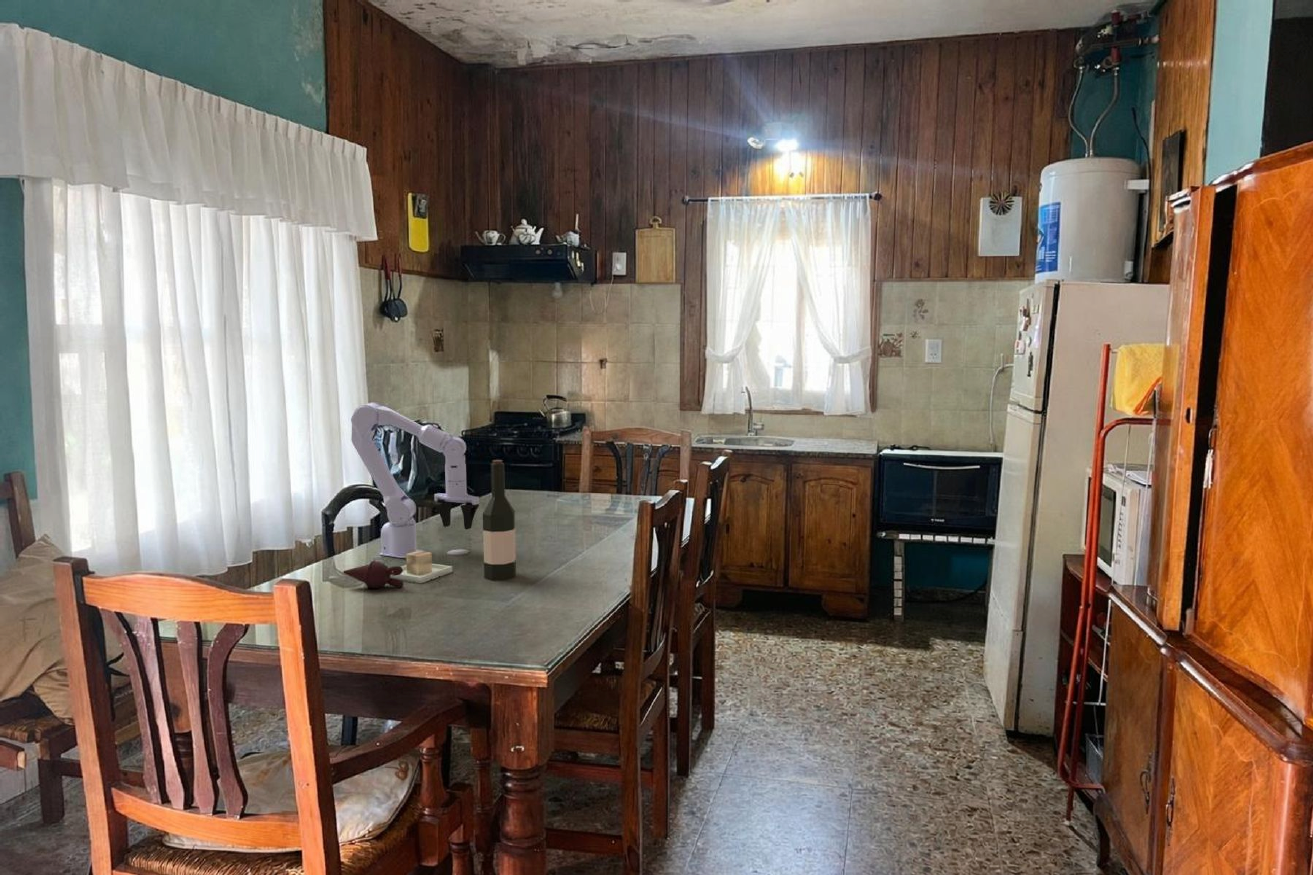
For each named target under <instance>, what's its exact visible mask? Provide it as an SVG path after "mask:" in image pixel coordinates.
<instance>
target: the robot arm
mask: <svg viewBox="0 0 1313 875" xmlns="http://www.w3.org/2000/svg"><path fill="white" fill-rule="evenodd" d="M350 421H351V439H350V440H351V443H352V445H353V447H354V448H355V450H356V452H357V453H358V454H357V455H359V457H360V459H361V461H362V462H363V464H364V466H365V467H366V470H367V472H368V473H369V474H370V476H371V479H372V480H373V481H374V483H375V485H376V487H377V488H378V490H379V492H380V494H381V495H382V498H383V505H384V506H385V508H386V513H387V519H388V522H386V523H384V525H383V526H382V528H381V530H380V544H381V546H380V548H381V550H380V551H381V552H379V555H380V556H385V557H392V558H400V559H406V554H408V553H412V552H416V551H423V550H421V549H418V548H417V524H416V523H417V521H416V520H415V518H414V515H415V514H416V512H417V506H416V503H415V501H414V500H413V499H411V498H410V497H409V496H407V494H406V492H405V491H404V490H403V489H402V488H400V486H399V484H398V482H397V481H396V479H395V477H394V475H393V474H392V472H391V470H390V469H389V466H388V465H387V463H386V461H385V459H384V458H383V456H382V454H381V453H380V450H379V449H378V447H377V446H376V444H375V442H374V440H373V437H374V435H375V431H376V429H377V428H378V426H388V425H391V426H393V427H395V428H397V429H400V430H402V431H404V432H407V433H409V434H411V435H414V436H416V437H417V439H418V441H419V443H420V444H422V445H424V446H425V447H428V448H430V449H432V450H434V451H436V452H438V453H442V454H443V456H444V457H445V465H444V472H445V473H444V475H445V493H440V492H437V493H434V495H433V497H434V500H433V501H434V502H435V503H434V507H435V509H436V510H437V512H438V513H439V515H440V518H441V522H442V525H443V527H444V528H447V527H450V526H451V517H452V516H451V515H452V514H451V512H452V507H453V506H452V505H453V503H459V504H462V505H460V508H461V513H462V516H463V526H464V530H470V529H471V528H472V526H473V521H474V517H475V515H476V513H477V510H478V508H479V506H480V496H475V495H471V494H468V491H467V464H466V454H465V453H466V451H467V444H466V442H465V441H464V439H463V438H462V437H460V436H454V434H453V433H447V432H445V431H443V430H441V429H440V428H439V425H436V424H433V425H432V424H426V425H421V424H419V423H418V422H415V421H414V420H412V419H410V418H408V417H406V416H405V415H403V414H401V413H399V412H397V411H395V410H394V409H391V408H389V407H387V406H383V405H380V404H379V403H377V402H368V403H366V404H361V405H359V406H357V407H356V408H355V410H354V412H353V414H352V416H351V418H350Z"/></svg>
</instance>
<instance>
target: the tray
mask: <svg viewBox="0 0 1313 875" xmlns="http://www.w3.org/2000/svg"><path fill="white" fill-rule="evenodd" d="M400 567H402V569H403V572H402V573H401V574H400V575H395V576H393V575H390V578H395V579H399V580H402V582H403V581H404V582H408V583H409V582H410V583H414V582H415V584H423V583H425V582H428V581H431V579H432V580H433V579H436V578H439V576H440V577H442V576H445V575H448V574H450V573H453V566H452V565H445V564H437V563H432V572H429V573H426V574H422V575H419V576H418V575H414V574H409V573H407V564H405V565H402V566H400Z"/></svg>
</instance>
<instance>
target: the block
mask: <svg viewBox="0 0 1313 875" xmlns="http://www.w3.org/2000/svg"><path fill="white" fill-rule="evenodd" d="M432 554H433V553H432V552H429V551H424V550H422V551H416V552H412V553H408V554H406V558H405V559H406V563H405V564H406V565H407V573H409V574H414V575H418V576H419V575H422V574H426V573H429V572H432V564H433V557H432Z"/></svg>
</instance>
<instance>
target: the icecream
mask: <svg viewBox="0 0 1313 875" xmlns="http://www.w3.org/2000/svg"><path fill="white" fill-rule="evenodd" d="M402 572H403V569H402V567H401V566H399V565H398V566H397V565H396V566H394V565H393V566H390V567H389V566H387V565H386V564H385V563H382V562H379V561H376V560H375V559H374V560H372V561H370V563H369V564H365V565H361V566H356V567H353V568H349V569H346V570H343V571H342V573H343V574H345V575H347V576H349V577H351V578H353V579H355V580H358V581H360V582H361V583H364V584H365V585H366V589H367V590H370V589H372V588H373V589H379V588H383V587H384V586H385V585H389V586H391V587H394V588H399V587H400V588H402V587H403V586H404V582H403V581H401V580H399V579H395V578H390V575H393V576H395V575H400V574H401V573H402Z"/></svg>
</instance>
